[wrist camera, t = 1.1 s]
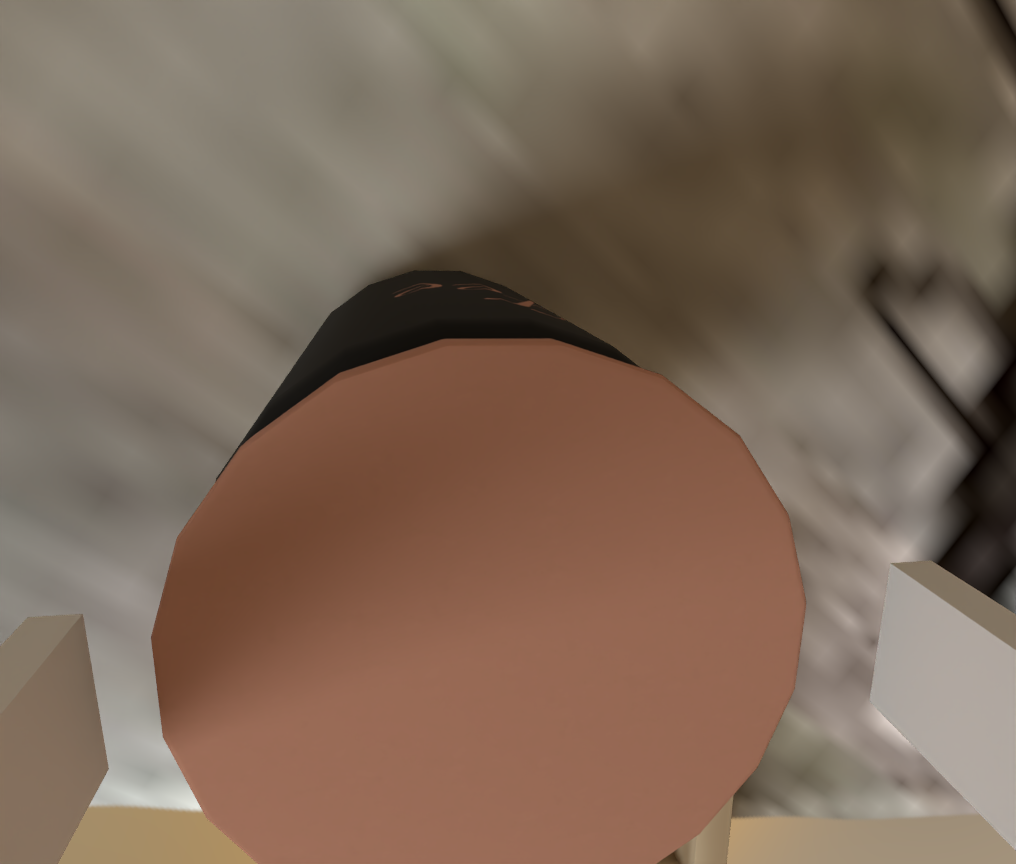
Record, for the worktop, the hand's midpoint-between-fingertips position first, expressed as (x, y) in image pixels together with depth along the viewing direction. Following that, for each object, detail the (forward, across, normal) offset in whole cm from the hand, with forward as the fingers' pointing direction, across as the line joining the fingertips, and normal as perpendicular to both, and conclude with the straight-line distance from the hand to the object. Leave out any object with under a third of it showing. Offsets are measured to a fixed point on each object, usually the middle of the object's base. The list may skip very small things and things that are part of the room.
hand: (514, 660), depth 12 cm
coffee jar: (+18, 0, 0) cm, 18 cm away
